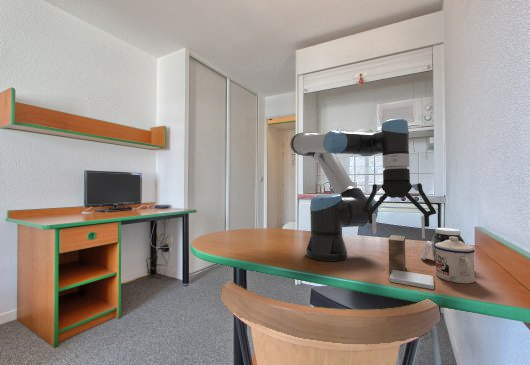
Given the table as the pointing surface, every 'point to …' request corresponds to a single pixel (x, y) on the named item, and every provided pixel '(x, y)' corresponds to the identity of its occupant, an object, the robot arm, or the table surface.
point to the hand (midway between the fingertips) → (397, 235)
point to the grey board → (412, 279)
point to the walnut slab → (397, 253)
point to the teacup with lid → (455, 261)
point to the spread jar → (441, 239)
